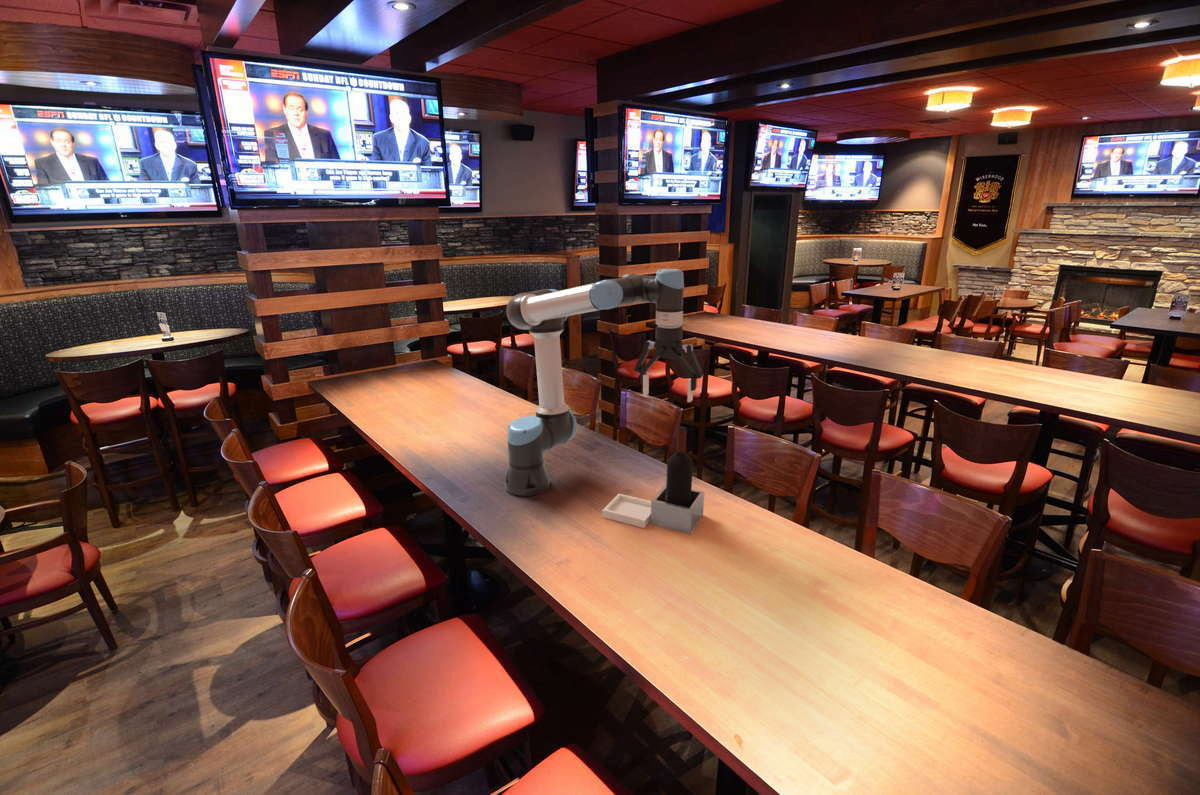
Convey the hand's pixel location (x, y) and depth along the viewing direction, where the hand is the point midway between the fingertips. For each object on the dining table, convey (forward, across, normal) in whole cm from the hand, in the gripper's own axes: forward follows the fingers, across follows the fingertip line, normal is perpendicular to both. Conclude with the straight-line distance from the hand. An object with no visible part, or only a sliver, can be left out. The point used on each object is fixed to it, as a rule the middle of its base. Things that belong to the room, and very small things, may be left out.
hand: (667, 398), depth 168 cm
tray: (+38, -10, -4) cm, 39 cm away
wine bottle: (+38, +4, -2) cm, 38 cm away
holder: (+38, +4, -2) cm, 38 cm away
